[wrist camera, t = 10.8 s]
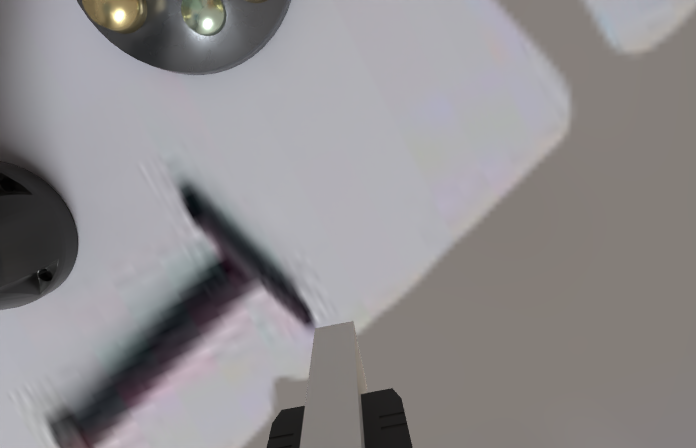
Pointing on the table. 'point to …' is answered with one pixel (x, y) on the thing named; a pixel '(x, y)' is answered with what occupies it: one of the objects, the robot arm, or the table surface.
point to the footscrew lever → (255, 1)
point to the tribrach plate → (187, 30)
